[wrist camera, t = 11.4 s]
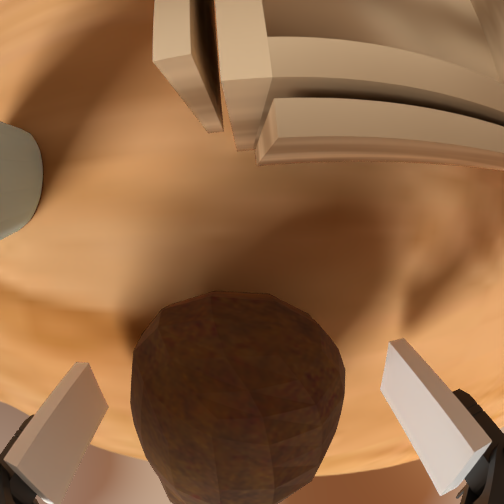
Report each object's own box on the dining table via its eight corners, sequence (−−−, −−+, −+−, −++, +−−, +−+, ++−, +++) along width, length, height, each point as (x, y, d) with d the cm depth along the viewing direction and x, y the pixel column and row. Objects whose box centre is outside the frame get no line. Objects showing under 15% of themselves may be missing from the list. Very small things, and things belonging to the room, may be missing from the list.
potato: (162, 412, 14) (130, 527, 6) (161, 244, 11) (48, 343, 4) (290, 425, 14) (310, 541, 7) (335, 266, 12) (442, 379, 4)
